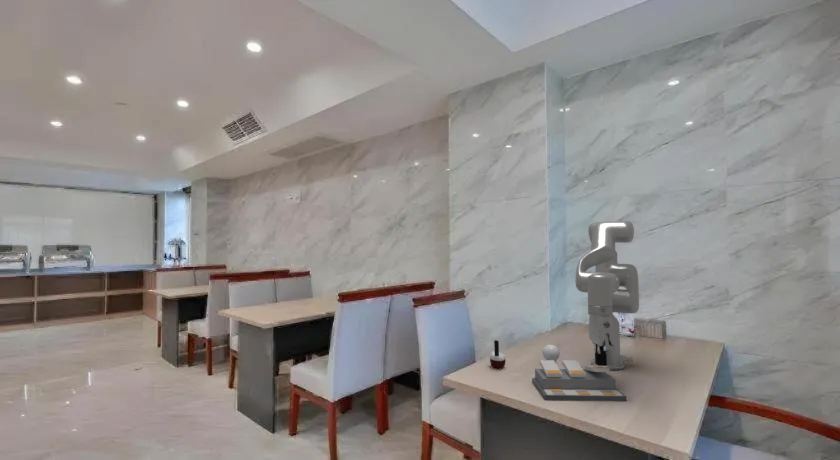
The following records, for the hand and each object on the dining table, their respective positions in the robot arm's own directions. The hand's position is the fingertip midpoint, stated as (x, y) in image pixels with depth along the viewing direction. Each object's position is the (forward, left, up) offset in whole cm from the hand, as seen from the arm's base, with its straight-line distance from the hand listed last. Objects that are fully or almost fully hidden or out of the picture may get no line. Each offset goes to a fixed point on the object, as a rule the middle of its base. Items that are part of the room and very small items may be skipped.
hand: (600, 364), depth 129 cm
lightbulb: (+11, -19, -10) cm, 24 cm away
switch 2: (+8, -4, -3) cm, 9 cm away
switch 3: (0, -4, -3) cm, 5 cm away
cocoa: (+31, -25, -10) cm, 41 cm away
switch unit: (+8, -1, -9) cm, 12 cm away
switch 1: (+16, -4, -3) cm, 17 cm away
